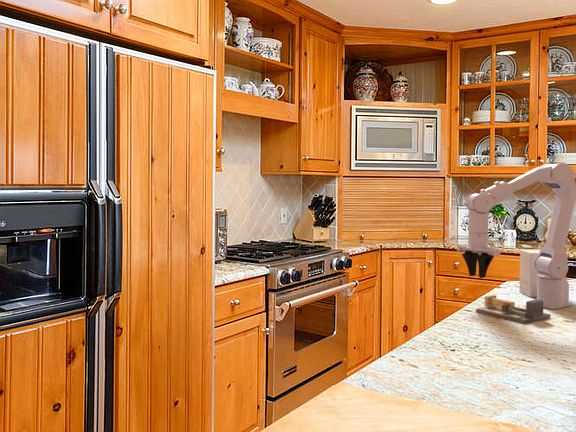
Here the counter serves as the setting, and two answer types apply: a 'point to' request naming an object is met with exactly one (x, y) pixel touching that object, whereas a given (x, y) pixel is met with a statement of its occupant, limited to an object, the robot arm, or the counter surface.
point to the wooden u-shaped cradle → (497, 302)
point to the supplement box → (528, 272)
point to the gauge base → (518, 312)
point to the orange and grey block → (505, 307)
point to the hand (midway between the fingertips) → (477, 276)
